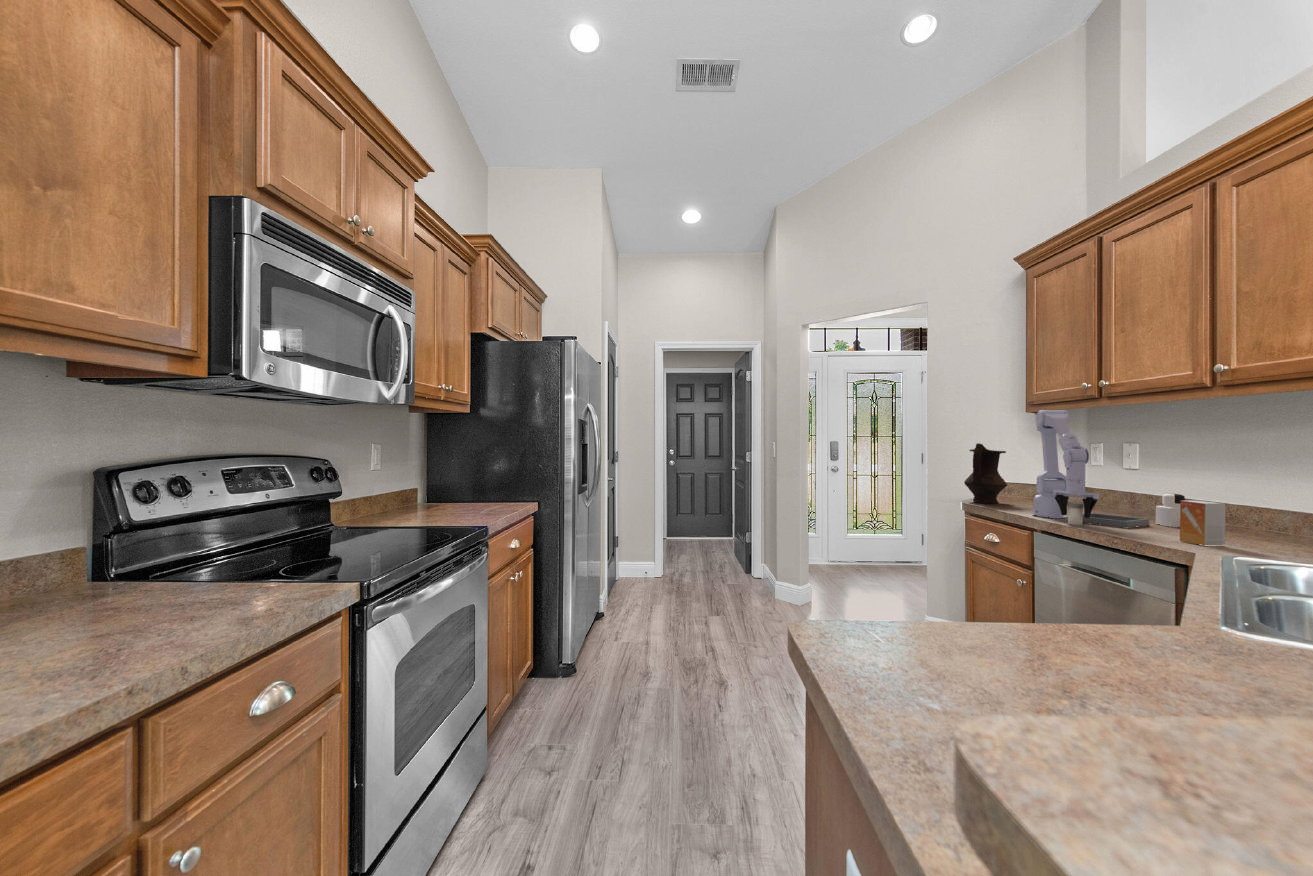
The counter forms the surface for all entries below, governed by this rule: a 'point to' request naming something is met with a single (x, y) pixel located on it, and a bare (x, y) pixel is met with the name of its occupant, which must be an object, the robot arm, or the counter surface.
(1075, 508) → the shaker
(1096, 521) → the tray
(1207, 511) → the small box
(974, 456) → the jug
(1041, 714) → the counter surface
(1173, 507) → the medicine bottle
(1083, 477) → the robot arm
